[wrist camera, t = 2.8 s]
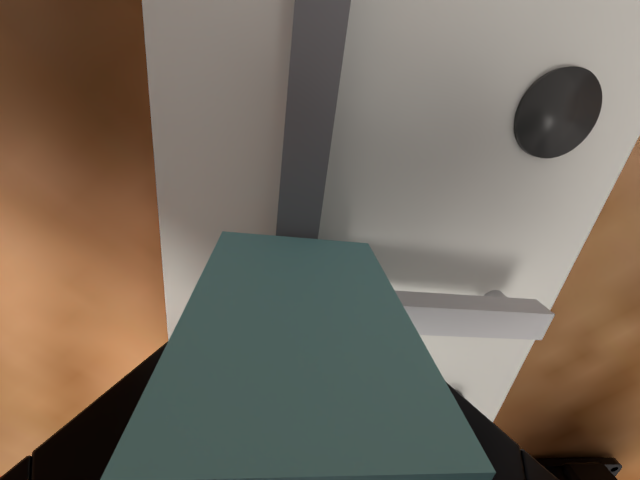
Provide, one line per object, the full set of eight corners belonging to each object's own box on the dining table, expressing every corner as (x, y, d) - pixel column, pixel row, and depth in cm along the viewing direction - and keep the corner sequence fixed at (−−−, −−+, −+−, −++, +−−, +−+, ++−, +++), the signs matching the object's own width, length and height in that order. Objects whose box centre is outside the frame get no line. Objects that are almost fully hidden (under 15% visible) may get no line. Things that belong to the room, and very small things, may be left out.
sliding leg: (497, 345, 12) (713, 598, 6) (225, 334, 10) (141, 651, 4) (541, 250, 10) (897, 463, 4) (226, 223, 9) (98, 480, 3)
